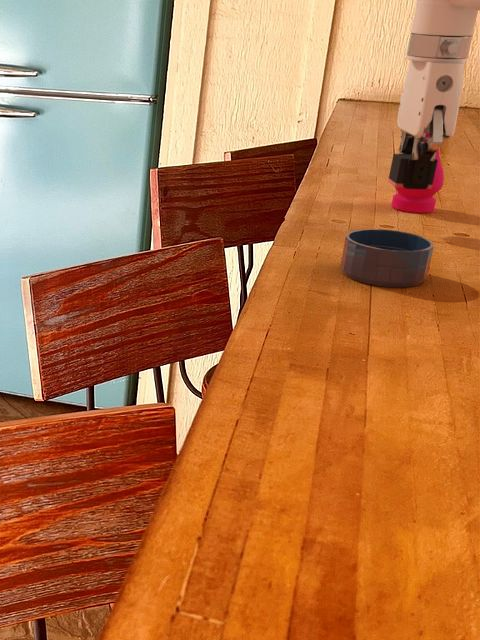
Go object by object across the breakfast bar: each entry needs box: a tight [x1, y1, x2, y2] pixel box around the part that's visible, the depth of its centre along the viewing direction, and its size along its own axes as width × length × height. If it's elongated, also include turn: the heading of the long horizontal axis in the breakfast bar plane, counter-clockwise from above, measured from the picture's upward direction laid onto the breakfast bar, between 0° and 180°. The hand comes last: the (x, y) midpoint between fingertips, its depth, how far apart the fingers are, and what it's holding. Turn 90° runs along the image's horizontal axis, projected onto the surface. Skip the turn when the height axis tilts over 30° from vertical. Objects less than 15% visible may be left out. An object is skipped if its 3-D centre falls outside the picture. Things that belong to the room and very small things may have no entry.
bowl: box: [340, 228, 435, 288], centre depth 107 cm, size 10×10×4 cm
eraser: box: [387, 153, 438, 188], centre depth 125 cm, size 5×3×4 cm
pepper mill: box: [390, 133, 445, 214], centre depth 136 cm, size 7×7×20 cm
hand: (410, 183), depth 126 cm, fingers closed on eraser, 3 cm apart
